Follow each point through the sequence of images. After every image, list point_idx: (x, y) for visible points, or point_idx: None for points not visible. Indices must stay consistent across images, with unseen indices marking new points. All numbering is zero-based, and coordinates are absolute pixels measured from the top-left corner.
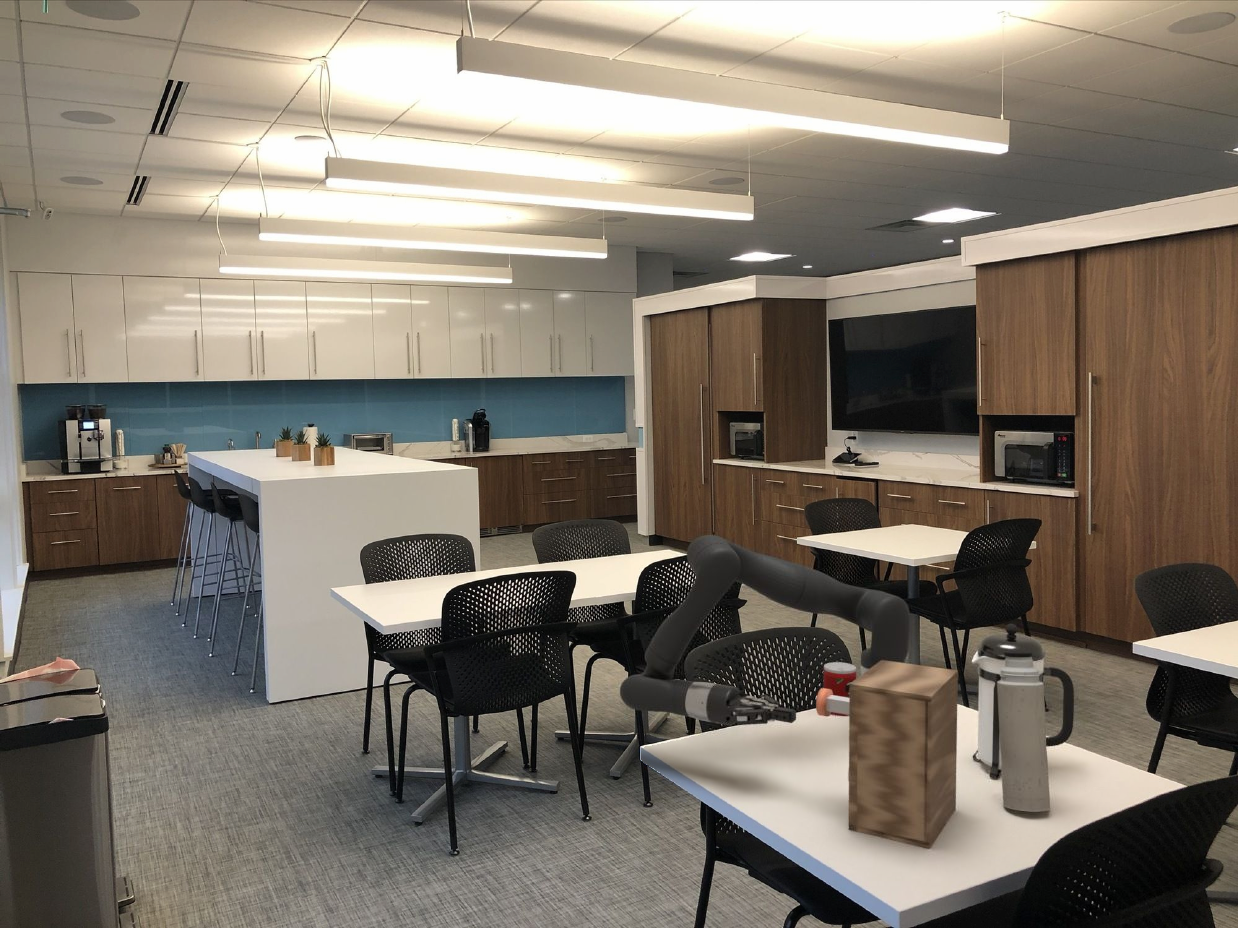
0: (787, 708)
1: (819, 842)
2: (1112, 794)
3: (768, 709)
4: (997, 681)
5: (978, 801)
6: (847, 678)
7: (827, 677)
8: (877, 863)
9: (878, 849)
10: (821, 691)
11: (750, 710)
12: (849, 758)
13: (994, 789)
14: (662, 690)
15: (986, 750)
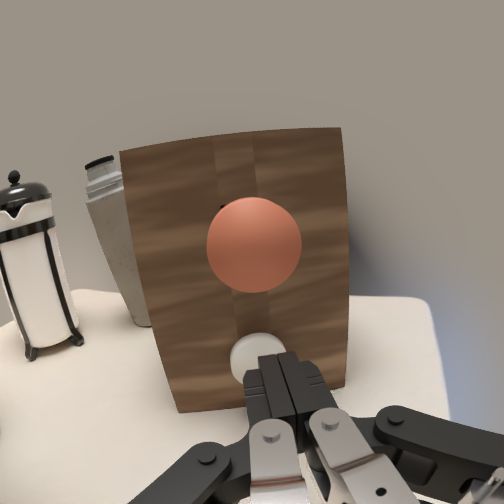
0: (263, 379)
1: (411, 381)
2: (100, 298)
3: (355, 426)
4: (102, 197)
5: (150, 340)
6: None
7: None
8: (385, 333)
9: (359, 346)
10: (269, 201)
11: (471, 452)
12: (348, 279)
13: (110, 339)
14: None
15: (58, 324)
